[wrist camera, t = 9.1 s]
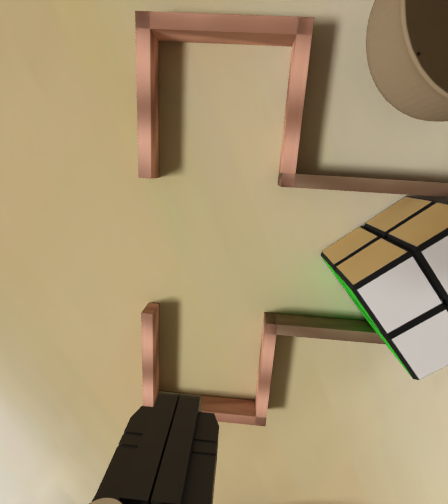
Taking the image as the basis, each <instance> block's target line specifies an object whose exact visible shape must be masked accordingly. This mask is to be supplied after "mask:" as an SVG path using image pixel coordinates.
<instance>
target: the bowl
mask: <svg viewBox="0 0 448 504" xmlns="http://www.w3.org/2000/svg"><path fill="white" fill-rule="evenodd" d="M366 52H367V60H368V66H369V69H370V73H371V76H372V78H373V81H374V83H375V85H376V86H377V88H378V90H379V91H380V93H381V94H382V95H383V97H384V98H385V99H386V100H387V101H388V102H389V103H390V104H391V105H392V106H394V107H395V108H396V109H397V110H399V111H401V112H402V113H404V114H406V115H408V116H410V117H413V118H416V119H420V120H425V121H448V0H375V2H374V4H373V7H372V10H371V13H370V17H369V21H368V27H367V35H366Z"/></svg>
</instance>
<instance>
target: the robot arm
mask: <svg viewBox="0 0 448 504" xmlns="http://www.w3.org/2000/svg"><path fill="white" fill-rule="evenodd" d="M201 402H202V396H201V395H194V394H184V393H181V395H180V393H172V392H162V391H160V392H159V393H158V395H157V398H156V401H155V403H154V406H153V407H147V406H141V407H140V409H139V410H138V411H137V412H136V413H135V414H134V415H133V416H132V417H131V418H130V420H129V422H128V424H127V427H126V429H125V431H124V435H123V436H122V438H121V440H120V442H119V446H118V447H117V449H116V451H115V453H114V455H113V458H112V460H111V462H110V464H109V467H108V469H107V471H106V473H105V475H104V478H103V480H102V482H101V484H100V486H99V489H98V491H97V493H96V495H95V497H94V499H93V500H92V502H91V503H89V504H213V494H214V483H215V473H216V462H217V448H218V434H219V425H218V422H217V419H216V417H215V414H214V413H208V412H201Z"/></svg>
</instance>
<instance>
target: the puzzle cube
mask: <svg viewBox="0 0 448 504" xmlns="http://www.w3.org/2000/svg"><path fill="white" fill-rule="evenodd" d="M321 256H322V258H323V259H324V261H325V262H326V264H327V265H328V266H329V268H330V269H331V271H332V272H333V273H334V275H335V276H336V278H337V279H338V281H339V282H340V283H341V285H342V286H343V288H344V289H345V290H346V291H347V293H348V294H349V296H350V297H351V299H352V300H353V302H354V303H355V304H356V306H357V307H358V309H359V310H360V311H361V313H362V314H363V316H364V317H365V319H366V320H367V321H368V323H369V324H370V325H371V326H372V328H373V329H374V330H375V331H376V333H377V334H378V335H379V336H380V338H381V339H382V340H383V341H384V343H385V344H386V345H387V346H388V348H389V349H390V350H391V352H392V353H393V354H394V355H395V357H396V358H397V359H398V360H399V362H400V363H401V364H402V365H403V367H404V368H405V369H406V370H407V372H408V373H409V374H410V375H411V377H412V378H413V379H416V380H420V379H422V378H424V377H426V376H428V375H430V374H432V373H434V372H436V371H438V370H440V369H442V368H444V367H446V366H448V204H444V203H438V202H434V201H428V200H423V199H417V198H411V197H404V198H402V199H401V200H399V201H398V202H396V203H395V204H393V205H392V206H390V207H389V208H387V209H386V210H384V211H383V212H381V213H380V214H378V215H377V216H375V217H374V218H372V219H371V220H369V221H367V222H366V223H365V225H364V228H363V227H358V228H357V229H355V230H354V231H352V232H351V233H349V234H348V235H346V236H345V237H343V238H342V239H340V240H339V241H337V242H336V243H334V244H332V245H331V246H329V247H328V248H326V249H325V250H323V251H322V253H321Z"/></svg>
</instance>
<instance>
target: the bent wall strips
mask: <svg viewBox="0 0 448 504" xmlns="http://www.w3.org/2000/svg"><path fill="white" fill-rule="evenodd" d="M135 21H136V71H137V121H138V171H139V178H159V115H158V41H172V42H197V43H221V44H246V45H271V46H292V53H291V63H290V72H289V82H288V91H287V101H286V110H285V120H284V130H283V139H282V149H281V158H280V168H279V177H278V185H279V186H280V187H296V188H312V189H328V190H343V191H359V192H375V193H391V194H407V195H423V196H439V197H448V183H444V182H428V181H411V180H394V179H378V178H361V177H345V176H328V175H312V174H295V173H296V165H297V157H298V148H299V140H300V131H301V123H302V115H303V106H304V98H305V89H306V81H307V73H308V64H309V56H310V47H311V39H312V31H313V22H314V17H289V16H261V15H233V14H205V13H177V12H149V11H135ZM141 321H142V371H143V406H147V407H153V406H154V403H155V401H156V398H157V395H158V393H159V392H160V391H159V304H156V303H148V304H147V306H146V307H145V309H144V310H143V311H142V313H141ZM276 335H285V336H296V337H308V338H320V339H331V340H343V341H354V342H366V343H378V344H385V343H384V341H383V340H382V339H381V338H380V336H379V335H378V334H377V333H376V331H375V330H374V329H373V328H372V326H371V325H370V324H369V323H368V321H362V320H350V319H338V318H325V317H313V316H301V315H289V314H277V313H265V312H264V321H263V331H262V340H261V350H260V359H259V369H258V379H257V388H256V398H255V401H254V400H244V399H233V398H223V397H213V396H202V395H201V396H202V402H201V412H208V413H214V414H215V417H216V419H217V421H219V422H229V423H239V424H249V425H259V426H265V425H266V417H267V409H268V400H269V392H270V383H271V375H272V367H273V358H274V350H275V341H276ZM180 395H181V393H180Z"/></svg>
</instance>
